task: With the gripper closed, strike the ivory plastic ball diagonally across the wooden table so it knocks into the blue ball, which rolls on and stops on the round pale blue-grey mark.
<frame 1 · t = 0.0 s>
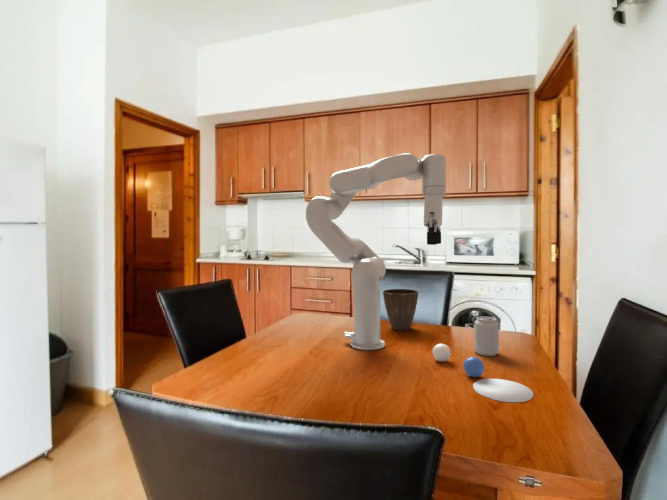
hand: (434, 244, 124), 37 cm above the table, fingers open, 9 cm apart
object ball: (473, 366, 104), on the table
can: (486, 353, 124), on the table
plant pot: (400, 328, 158), on the table
cue ball: (441, 352, 117), on the table
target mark: (502, 390, 95), on the table
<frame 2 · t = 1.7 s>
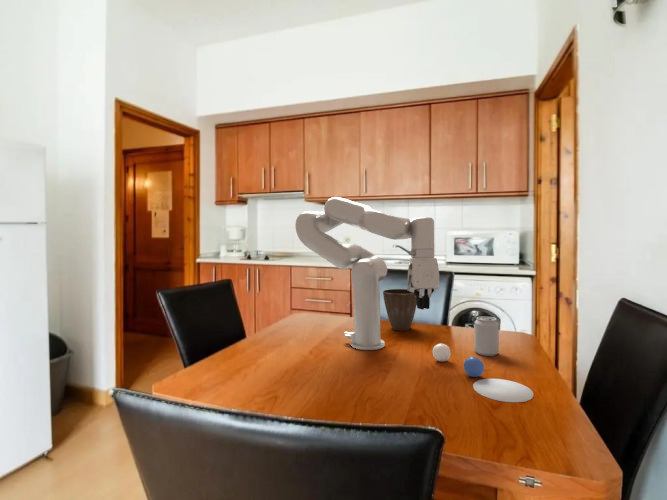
hand: (423, 308, 125), 15 cm above the table, fingers closed
nothing on the table moved.
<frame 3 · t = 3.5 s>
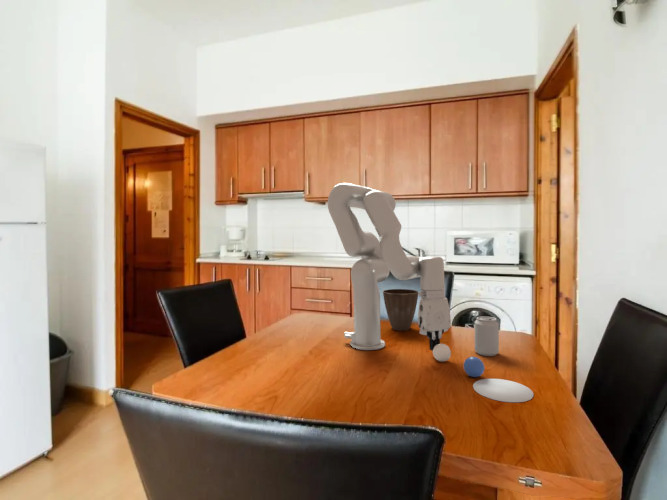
hand: (434, 350, 121), 2 cm above the table, fingers closed
cue ball: (441, 352, 117), on the table, touching gripper
everything else where it was.
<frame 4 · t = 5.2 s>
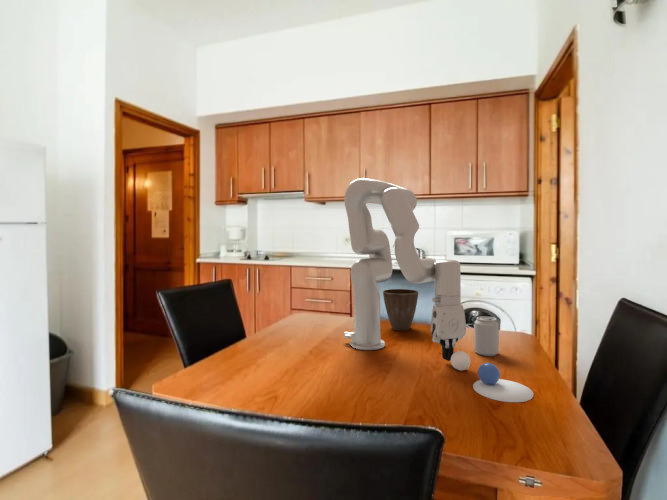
hand: (447, 359, 114), 2 cm above the table, fingers closed
object ball: (488, 373, 99), on the table
cue ball: (460, 360, 109), on the table
everything else where it was.
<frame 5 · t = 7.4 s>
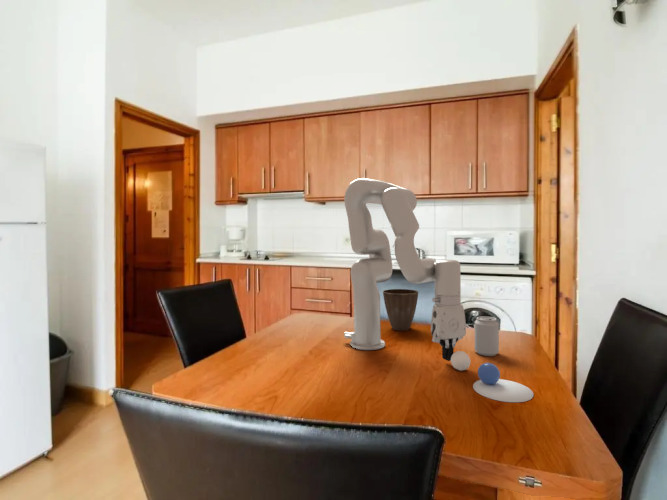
hand: (447, 359, 114), 2 cm above the table, fingers closed
nothing on the table moved.
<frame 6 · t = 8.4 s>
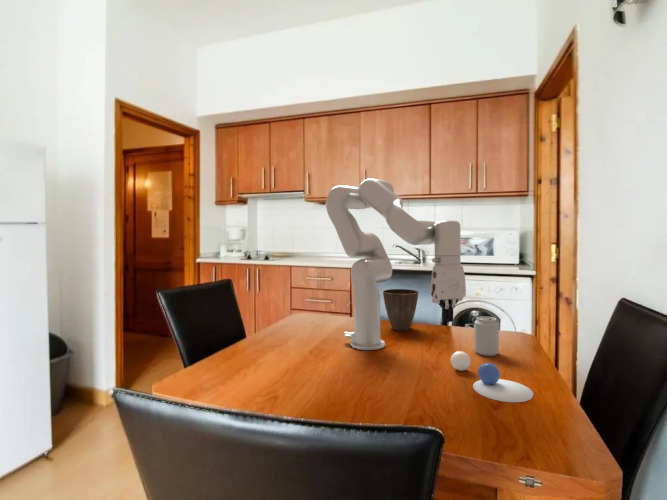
hand: (447, 320, 114), 13 cm above the table, fingers closed
nothing on the table moved.
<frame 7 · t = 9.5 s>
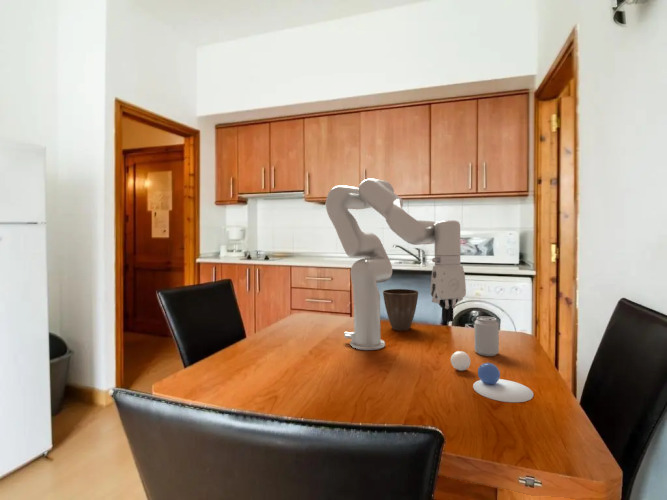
hand: (447, 320, 114), 13 cm above the table, fingers closed
nothing on the table moved.
at the end: object ball 4.5 cm from the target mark (horizontally); object ball never touched the robot; cue ball first touched object ball at 3.9 s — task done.
